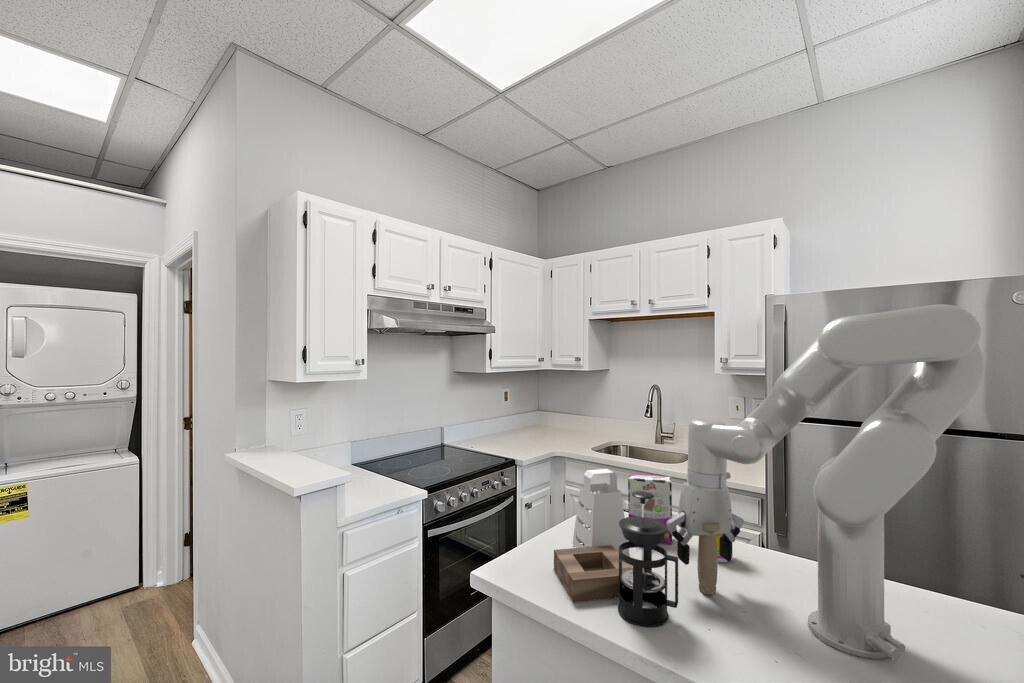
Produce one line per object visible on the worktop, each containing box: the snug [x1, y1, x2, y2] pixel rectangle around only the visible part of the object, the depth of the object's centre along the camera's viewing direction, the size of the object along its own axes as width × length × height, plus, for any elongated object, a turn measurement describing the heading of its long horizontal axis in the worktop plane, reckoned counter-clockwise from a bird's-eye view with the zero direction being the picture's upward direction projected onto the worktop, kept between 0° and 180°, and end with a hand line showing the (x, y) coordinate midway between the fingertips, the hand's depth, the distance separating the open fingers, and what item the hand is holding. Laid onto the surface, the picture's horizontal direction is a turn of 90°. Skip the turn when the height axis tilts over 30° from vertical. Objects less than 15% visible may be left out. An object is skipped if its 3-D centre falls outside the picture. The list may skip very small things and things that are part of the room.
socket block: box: [553, 545, 633, 604], centre depth 100 cm, size 14×14×4 cm
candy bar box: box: [627, 473, 673, 545], centre depth 123 cm, size 11×5×16 cm, turn 73°
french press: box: [617, 491, 679, 628], centre depth 89 cm, size 12×9×23 cm
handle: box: [696, 523, 720, 596], centre depth 97 cm, size 5×6×15 cm
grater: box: [571, 468, 631, 557], centre depth 116 cm, size 10×10×20 cm
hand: (704, 560), depth 97 cm, fingers open, 9 cm apart
